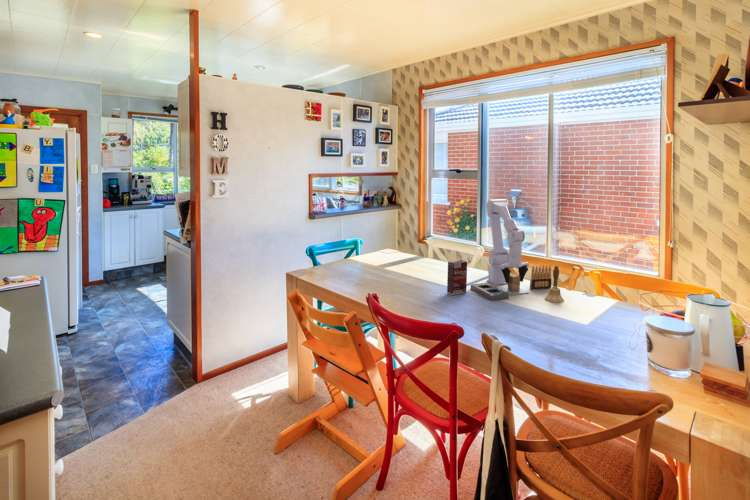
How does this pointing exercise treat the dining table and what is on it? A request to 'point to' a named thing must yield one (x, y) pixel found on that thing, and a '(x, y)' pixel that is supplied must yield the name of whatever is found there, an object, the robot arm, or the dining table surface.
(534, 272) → the ammunition clip
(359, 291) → the dining table surface
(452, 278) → the supplement box
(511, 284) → the walnut peg
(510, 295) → the blue-grey board
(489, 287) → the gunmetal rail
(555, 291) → the hand bell
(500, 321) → the dining table surface
